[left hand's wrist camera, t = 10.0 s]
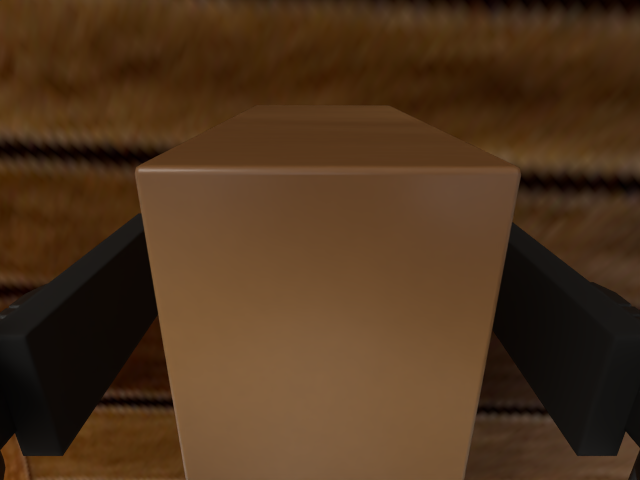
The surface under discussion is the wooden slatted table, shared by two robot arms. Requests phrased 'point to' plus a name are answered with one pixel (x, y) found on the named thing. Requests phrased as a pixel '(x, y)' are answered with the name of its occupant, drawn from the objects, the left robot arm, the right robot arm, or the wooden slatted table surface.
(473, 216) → the bar
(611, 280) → the wooden slatted table surface
